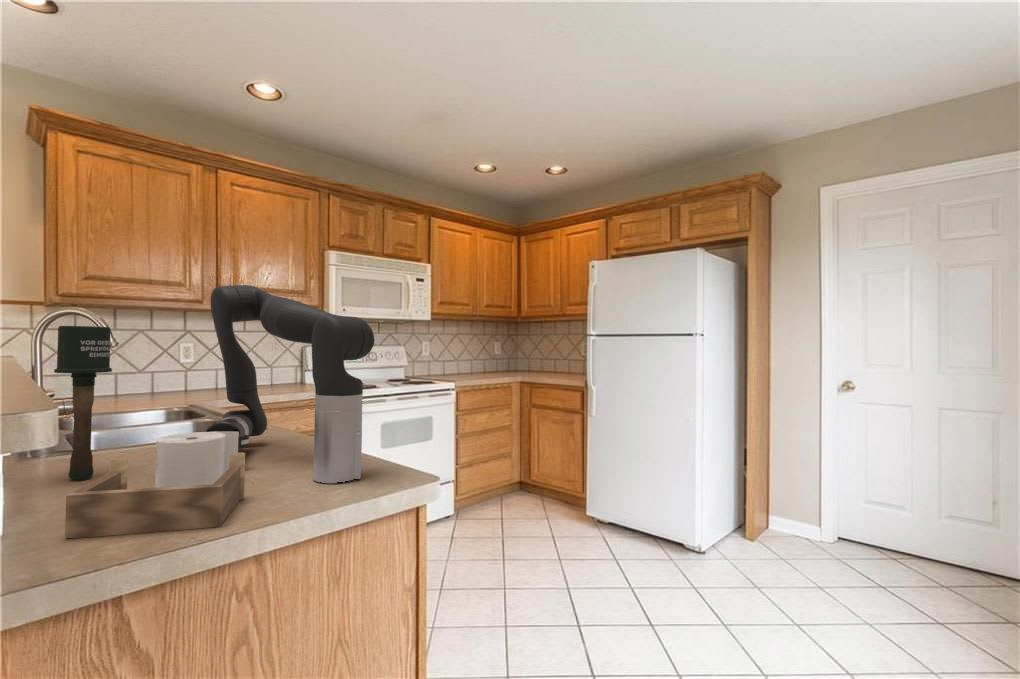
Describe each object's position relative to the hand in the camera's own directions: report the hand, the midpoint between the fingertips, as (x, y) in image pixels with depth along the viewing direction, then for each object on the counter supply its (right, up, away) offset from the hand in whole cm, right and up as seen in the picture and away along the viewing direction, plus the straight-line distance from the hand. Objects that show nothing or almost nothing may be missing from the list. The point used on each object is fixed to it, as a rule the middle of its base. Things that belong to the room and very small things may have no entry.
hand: (204, 450), depth 96 cm
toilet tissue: (+2, -6, -6) cm, 9 cm away
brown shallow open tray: (+6, -6, -19) cm, 21 cm away
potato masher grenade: (-24, -6, 0) cm, 25 cm away
